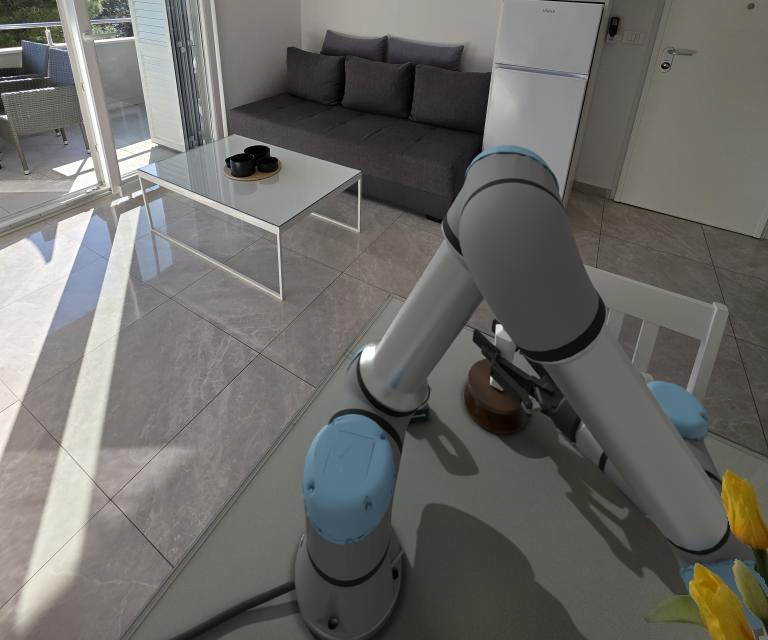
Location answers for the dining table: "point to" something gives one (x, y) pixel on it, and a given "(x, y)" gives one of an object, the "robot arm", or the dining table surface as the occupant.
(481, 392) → the stand
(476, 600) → the dining table surface
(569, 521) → the dining table surface
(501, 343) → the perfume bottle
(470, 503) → the dining table surface
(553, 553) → the dining table surface
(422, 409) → the watch
